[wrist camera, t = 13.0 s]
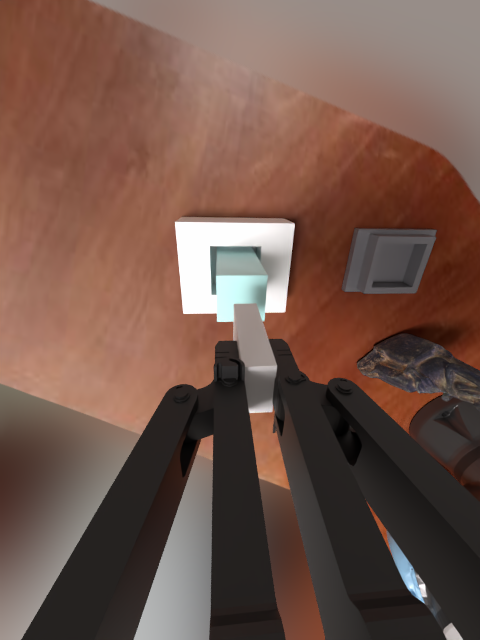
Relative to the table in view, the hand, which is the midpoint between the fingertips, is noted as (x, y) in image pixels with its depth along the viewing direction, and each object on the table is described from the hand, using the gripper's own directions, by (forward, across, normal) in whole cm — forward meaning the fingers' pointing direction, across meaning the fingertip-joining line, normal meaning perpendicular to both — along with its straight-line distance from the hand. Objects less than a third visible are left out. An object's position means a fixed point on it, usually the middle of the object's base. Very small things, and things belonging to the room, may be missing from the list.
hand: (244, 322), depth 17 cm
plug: (+16, 0, 0) cm, 16 cm away
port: (+17, 0, 0) cm, 17 cm away
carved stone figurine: (+17, -25, +14) cm, 34 cm away
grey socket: (+17, -20, 0) cm, 26 cm away
